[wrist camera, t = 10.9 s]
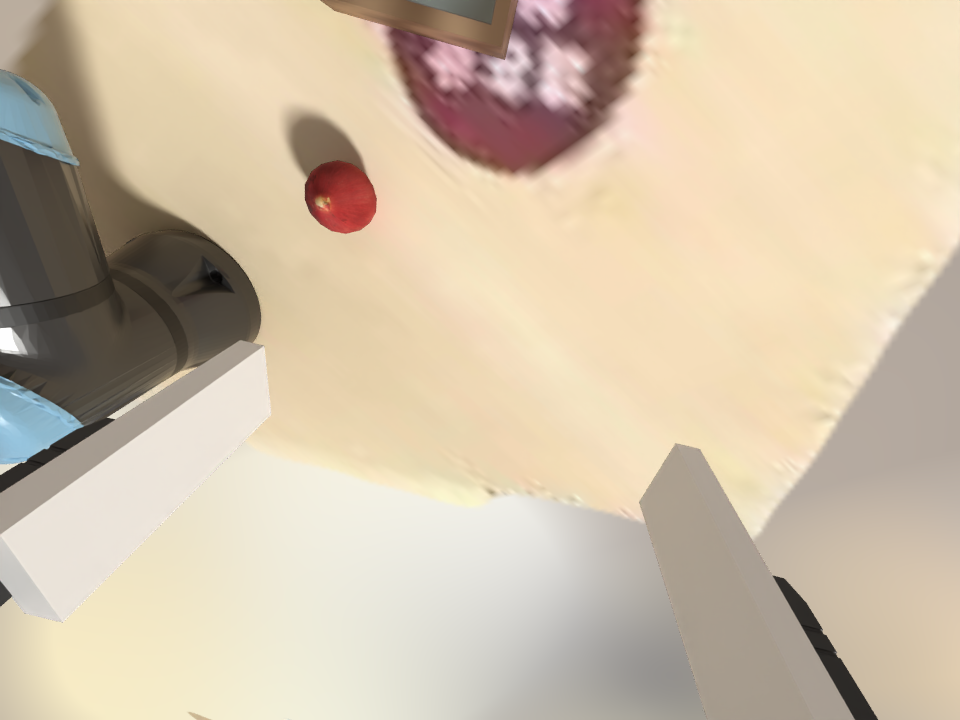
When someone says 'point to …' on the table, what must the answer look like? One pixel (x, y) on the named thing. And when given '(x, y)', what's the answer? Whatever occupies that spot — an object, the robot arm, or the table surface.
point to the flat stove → (442, 20)
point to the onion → (340, 197)
